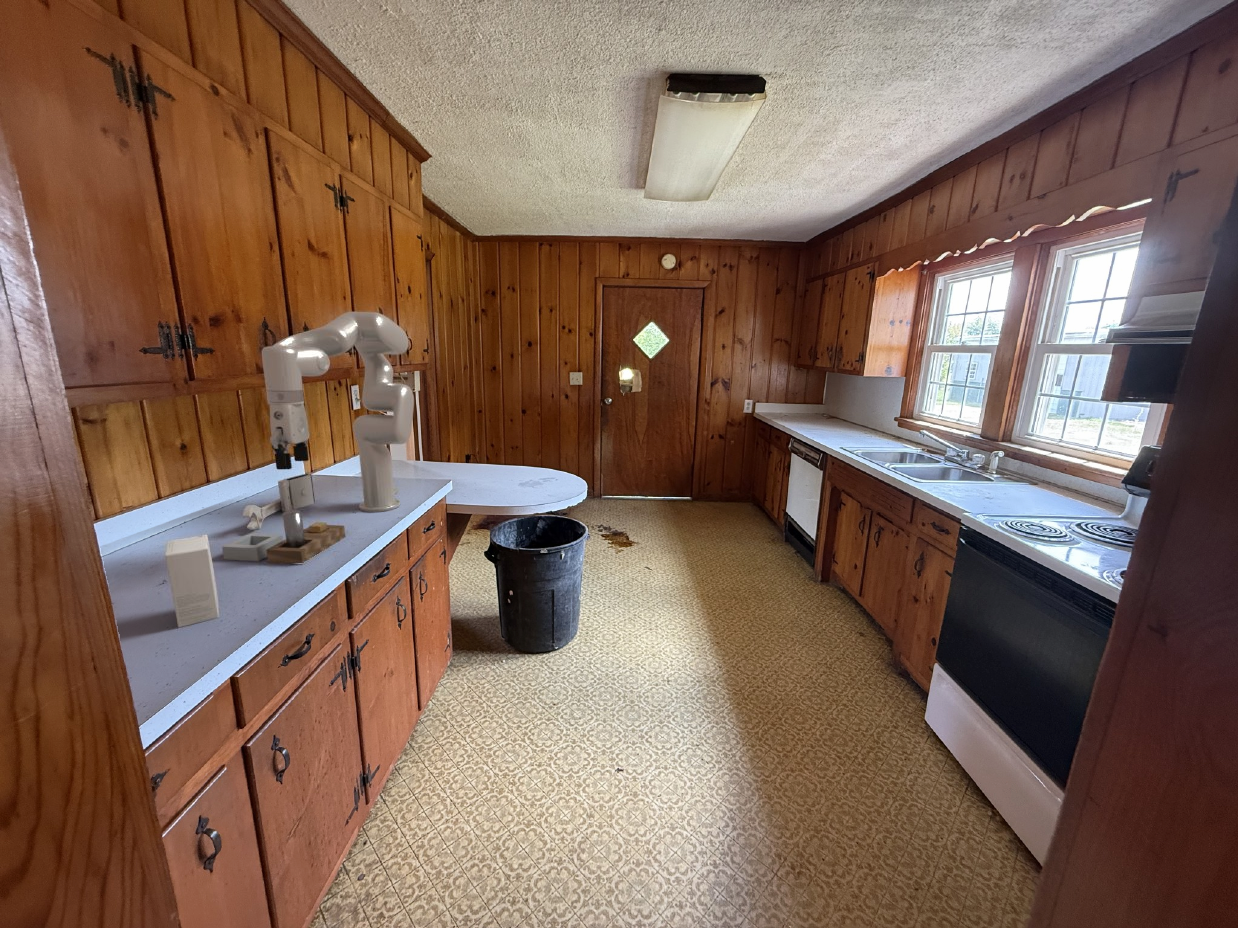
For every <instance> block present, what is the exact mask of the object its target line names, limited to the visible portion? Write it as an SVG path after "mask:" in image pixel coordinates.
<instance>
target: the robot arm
mask: <svg viewBox="0 0 1238 928" xmlns="http://www.w3.org/2000/svg"><path fill="white" fill-rule="evenodd" d="M353 347H355V349H356V351H357V352H358V354H359V356H360V358H361V359H362V362H363V364H364V378H363V387H362V395H361V397H362V398H361V400H362V401H361V402H362V406H363V407H364V408H365V409H367V410H369V411H372V412H382V413H386V412H387V413H393V415H391V414H388V415H386V414H363V415H361V416H358V417H357V418H356V419H355V420H354V422H353V425H352V431H353V435H354V438H355V442H356V445H357V448H358V455H359V464H360V465H359V466H360V476H361V485H362V495H363V501H362V502H360V504H359V505H358V508H359V510H360V511H362V512H367V513H377V512H378V513H379V512H380V513H381V512H386V511H390V510H394V509H397V508H398V507H400V505H401V500H400V499H398V498H396V495H397V494H400V490H399V489H398V488H397V487H395V484H394V472H393V461H392V455H391V451H390V450H389V448H388V447H387V445H405V444H406V443H408V441H409V440H410V438H411V433H412V427H413V418H414V417H413V416H414V407H415V397H414V393H413V391H412V388H411V387H410V386H409V385H407V384H404V383H397V382H396V383H395V382H393V381H394V369H393V367H392V364H391V363H390V361H389V360H388V359H387V358H386V356H385V355H402V354H404V353H406V352H407V350H408V348H409V337H408V335H407V334H406V331H404V329H403V328H402V327H400V325H398V324H397V323H395V322H394V321H393V320H392V319H390V318H389V317H388V316H385V314H382V313H380V312H375V311H374V312H373V311H347V312H344V313H343V314H341V315H339V316H338V317H336V318H335V319H333V320H331V321H330V322H328V323H326V324H325V325H323V326H321V327H317V328H314V329H313V328H312V329H310V330H306V331H304V332H300V333H296V334H293V335H290V336H287V337H285V338H283V339H281V340H279V341H278V342H276V343H274V344H273V345H272V346H265V347H263V348H262V349H261V359H262V367H263V376H264V383H265V390H266V391H265V393H266V400H267V405H269V419H270V420H269V421H270V424H269V425H270V432H271V436H270V438H269V441H270V444H271V448H272V449H273V454H274V458H275V468H276V470H291V469H292V467H293V466H292V457H291V456H292V455H291V453H290V452H289V451H290V447H291V445H293V447H292V449H293V457H294V458H293V459H294V462H308V461H309V460H310V459H309V448H308V447H309V446H308V444H309V443H308V440H309V439H310V429H309V422H308V416H307V411H306V408H305V405H304V404H305V396H304V389H303V387H304V386H303V378H302V377H320V376H323V375H324V374H325V373H327V372H328V370H329V369H330V366H331V361H330V358H331V357H335V356H340V355H343V354H345V353H346V352H348V351H349V350H351V348H353Z"/></svg>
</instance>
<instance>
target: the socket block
mask: <svg viewBox="0 0 1238 928" xmlns="http://www.w3.org/2000/svg"><path fill="white" fill-rule="evenodd" d="M303 529H304V528H303ZM327 529H328V530H326V531H325V532H323V533H321V534H320V533H310V529H309V526H308V527H306V528H305V529H304V536H305V544H306V545H304V546H302V547H300V548H287V542H286V538H285V539H283V541H281V542H280V543H278V544H276V545H274V546H272V547H270V548H268V549H266V551H267V556H266V557H267V563H271V564H272V563H273V564H289V563H304V562H305V561H307V560H309V559H310V558H312V557H313V558H315V557H316V556H318V555H319V553H320V552H321V553H323V552H325V551H326V550H327V549H329V548H330V546H331V547H332V546H333V545H335V544H336V543H338V542H340V541H341V539H342V540H343V539H345V538H346V531H345V530H346V528H345V525H336V524H327ZM344 537H345V538H344ZM325 549H326V550H325ZM322 551H323V552H322ZM321 553H320V554H321ZM317 554H318V555H317ZM315 555H316V556H315ZM314 556H315V557H314ZM313 558H312V559H313ZM310 560H311V559H310ZM310 560H309V561H310ZM307 562H308V561H307ZM305 563H306V562H305ZM305 563H304V564H305Z"/></svg>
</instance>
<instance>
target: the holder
mask: <svg viewBox="0 0 1238 928" xmlns="http://www.w3.org/2000/svg"><path fill="white" fill-rule="evenodd" d="M283 540H284V537H283V534H276V533H275V534H272V533H270V534H269V533H255V532H253V533H252V532H250V533H248V534H246V535H243V536H241V537H239V538H237V539H234V540H233V541H230V542H229V543H226V544H224V545H223V546H221V547H222V553H223V559H224V560H231V561H232V560H233V561H235V560H236V561H250V562H251V561H253V562H259V561H261V560H262V559H264V558H266V557H267V551H266V549H268V548H270V547H272V546H274V545H276V544H278V543H280V542H281V541H283Z"/></svg>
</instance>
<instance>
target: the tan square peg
mask: <svg viewBox="0 0 1238 928" xmlns="http://www.w3.org/2000/svg"><path fill="white" fill-rule="evenodd" d="M327 525H328V523H327V522H322V521H321V522H319V521H317V522H314V523H312V524H310V525H309V526H308V527H309V529H310V533H320V534H321V533H323V532H325V531H326V530H328V529H327Z"/></svg>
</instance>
